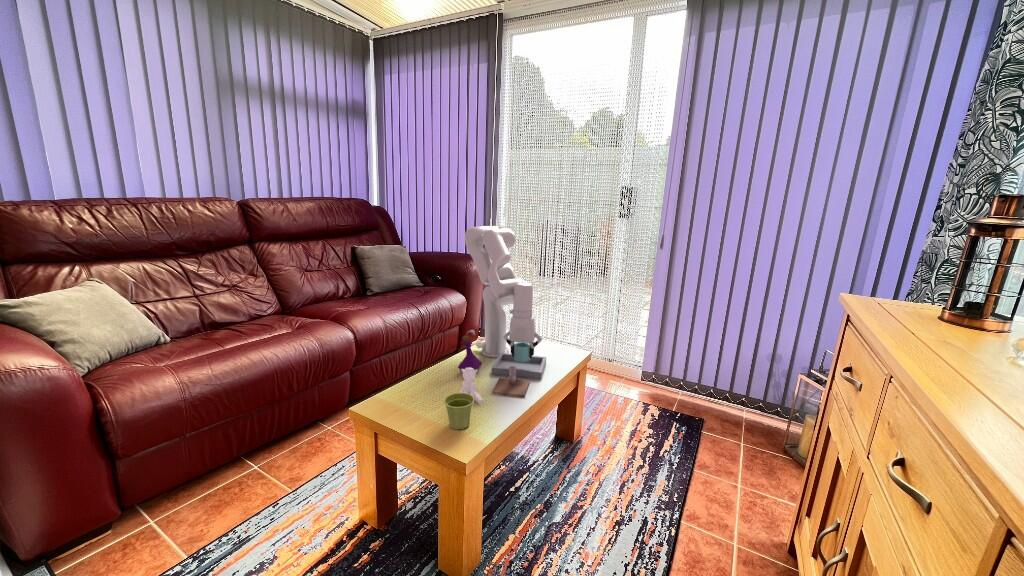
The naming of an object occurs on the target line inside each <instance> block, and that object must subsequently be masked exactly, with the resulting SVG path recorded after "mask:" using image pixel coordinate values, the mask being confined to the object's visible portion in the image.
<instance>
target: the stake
mask: <svg viewBox="0 0 1024 576" xmlns="http://www.w3.org/2000/svg"><path fill="white" fill-rule="evenodd" d="M530 384H531V383H530V380H526V379H517V377H516V367H514V366H511V367H509V376H508V377H499V378H498V379H497V381H496V383H495V384H494V387H493V388H492V391H491V395H497V396H507V397H516V398H526V395H527V391H528V389H529V387H530Z"/></svg>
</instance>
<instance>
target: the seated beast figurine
mask: <svg viewBox="0 0 1024 576" xmlns="http://www.w3.org/2000/svg"><path fill="white" fill-rule="evenodd" d="M461 370H462V371H461ZM461 370H460V371H461V372H463V373H462V377H463V379H464V380H463V381H462V384H461V388H460V391H459V393H467V394H470V395H472V396H473V397H474V403H473V404H479V405H480V406H481V404H482V405H483V403H484V400H483V398H482V396H481V395H480V394H479V393H478V390H477V388H476V383H475V381H474V379H475V378H476V376H477V375H476V374H477V372H478V371H479V369H477V370H478V371H477V370H474V369H473V368H471V367H469V368H465V369H461Z"/></svg>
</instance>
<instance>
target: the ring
mask: <svg viewBox="0 0 1024 576" xmlns="http://www.w3.org/2000/svg"><path fill="white" fill-rule="evenodd" d="M530 347H531V346H530V344H529V343H523V342H515V343H514V360H516V361H518V362H526V361H529V360H530V359H531V358H530Z"/></svg>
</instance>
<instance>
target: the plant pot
mask: <svg viewBox="0 0 1024 576" xmlns="http://www.w3.org/2000/svg"><path fill="white" fill-rule="evenodd" d="M443 404H444V405H445V408H446V411H447V415H448V422H449V427H450V426H451V427H450V428H452V429H453V428H454V429H453V430H455V429H462V430H464V429H466V428H468V427H469V426H470V423H471V414H472V407H473V405H474V404H475V403H474V397H473V396H472V395H470V394H467V393H460V392H456V393H451V394H449V395H447V396H445V397H444V399H443Z"/></svg>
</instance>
